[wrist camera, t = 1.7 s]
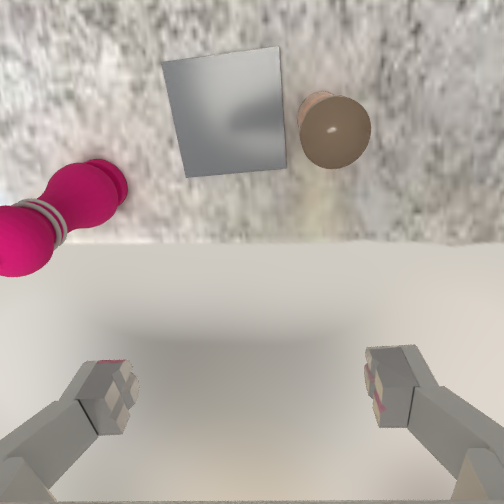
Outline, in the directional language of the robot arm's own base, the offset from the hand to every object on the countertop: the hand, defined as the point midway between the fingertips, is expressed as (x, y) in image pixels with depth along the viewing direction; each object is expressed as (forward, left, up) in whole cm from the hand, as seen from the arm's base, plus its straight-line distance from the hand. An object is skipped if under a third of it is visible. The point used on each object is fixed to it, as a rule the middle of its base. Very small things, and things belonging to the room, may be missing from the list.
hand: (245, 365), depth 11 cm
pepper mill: (+21, +1, -31) cm, 37 cm away
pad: (+4, -5, -30) cm, 31 cm away
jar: (-6, -4, -30) cm, 31 cm away
